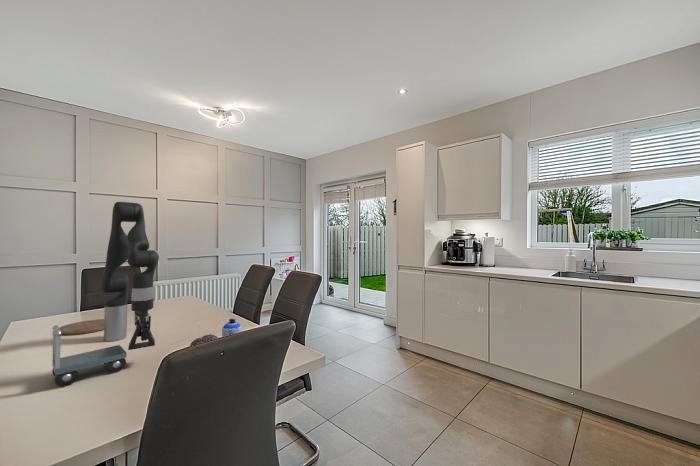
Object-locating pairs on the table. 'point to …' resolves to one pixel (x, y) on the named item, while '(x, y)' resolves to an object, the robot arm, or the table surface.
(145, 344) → the triangular clip stand
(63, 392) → the table surface
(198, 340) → the decorative flower
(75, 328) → the trivet
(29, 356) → the table surface
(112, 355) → the trolley
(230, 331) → the aerosol can
